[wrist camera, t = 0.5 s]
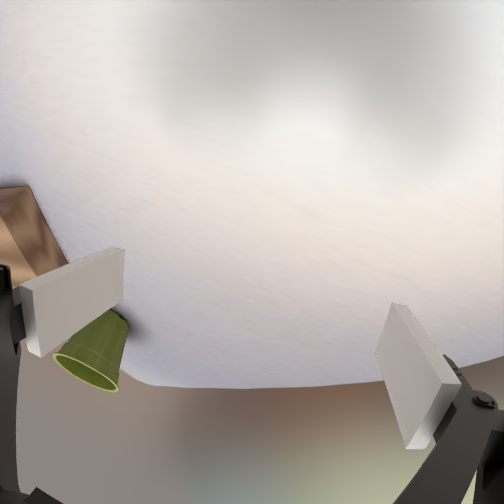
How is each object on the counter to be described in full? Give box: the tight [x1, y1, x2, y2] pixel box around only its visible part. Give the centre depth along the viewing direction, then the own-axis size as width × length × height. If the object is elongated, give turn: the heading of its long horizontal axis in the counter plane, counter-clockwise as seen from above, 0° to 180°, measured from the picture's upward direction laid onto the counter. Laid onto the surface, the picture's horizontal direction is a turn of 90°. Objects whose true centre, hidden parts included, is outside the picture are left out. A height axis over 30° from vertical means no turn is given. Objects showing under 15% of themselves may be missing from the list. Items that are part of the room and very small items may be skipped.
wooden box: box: [0, 186, 68, 287], centre depth 36 cm, size 14×14×6 cm
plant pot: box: [53, 310, 129, 392], centre depth 47 cm, size 12×12×11 cm
